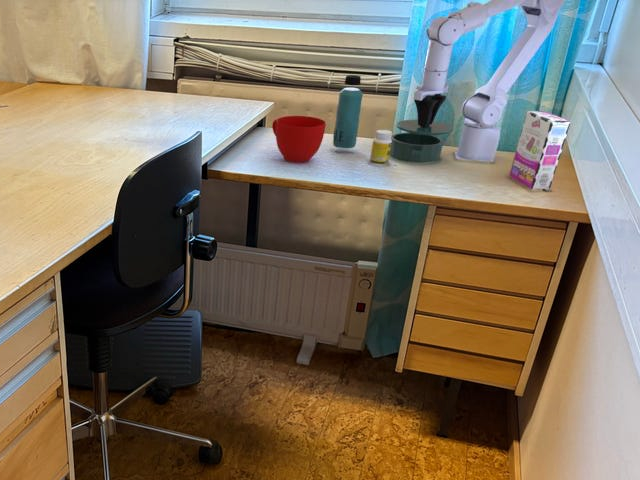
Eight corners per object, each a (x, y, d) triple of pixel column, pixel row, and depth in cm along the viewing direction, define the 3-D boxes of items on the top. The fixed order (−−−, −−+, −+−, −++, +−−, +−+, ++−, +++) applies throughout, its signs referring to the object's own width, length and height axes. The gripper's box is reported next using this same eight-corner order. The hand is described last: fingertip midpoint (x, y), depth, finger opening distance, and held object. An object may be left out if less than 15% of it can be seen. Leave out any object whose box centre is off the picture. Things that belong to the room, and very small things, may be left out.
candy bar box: (551, 191, 169) (572, 121, 160) (531, 191, 169) (551, 121, 160) (526, 176, 178) (545, 109, 170) (507, 177, 178) (525, 110, 169)
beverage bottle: (358, 149, 199) (369, 74, 188) (350, 155, 194) (361, 78, 184) (336, 146, 202) (346, 72, 191) (327, 151, 197) (337, 76, 187)
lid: (450, 125, 190) (454, 106, 188) (454, 138, 179) (458, 118, 176) (395, 122, 194) (399, 102, 191) (396, 134, 182) (399, 114, 179)
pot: (437, 150, 199) (441, 132, 196) (440, 169, 184) (445, 150, 181) (388, 146, 202) (391, 128, 199) (387, 164, 187) (391, 145, 184)
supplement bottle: (388, 166, 185) (394, 134, 181) (369, 165, 186) (375, 133, 182) (387, 161, 189) (392, 129, 185) (369, 160, 190) (374, 128, 186)
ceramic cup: (288, 147, 201) (292, 110, 196) (331, 161, 189) (336, 123, 184) (253, 153, 195) (256, 116, 190) (295, 169, 183) (299, 129, 178)
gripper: (434, 64, 185) (424, 117, 192) (407, 71, 176) (397, 126, 184) (460, 67, 181) (448, 122, 188) (433, 75, 172) (422, 131, 179)
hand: (425, 124), depth 186 cm, fingers closed on lid, 2 cm apart
